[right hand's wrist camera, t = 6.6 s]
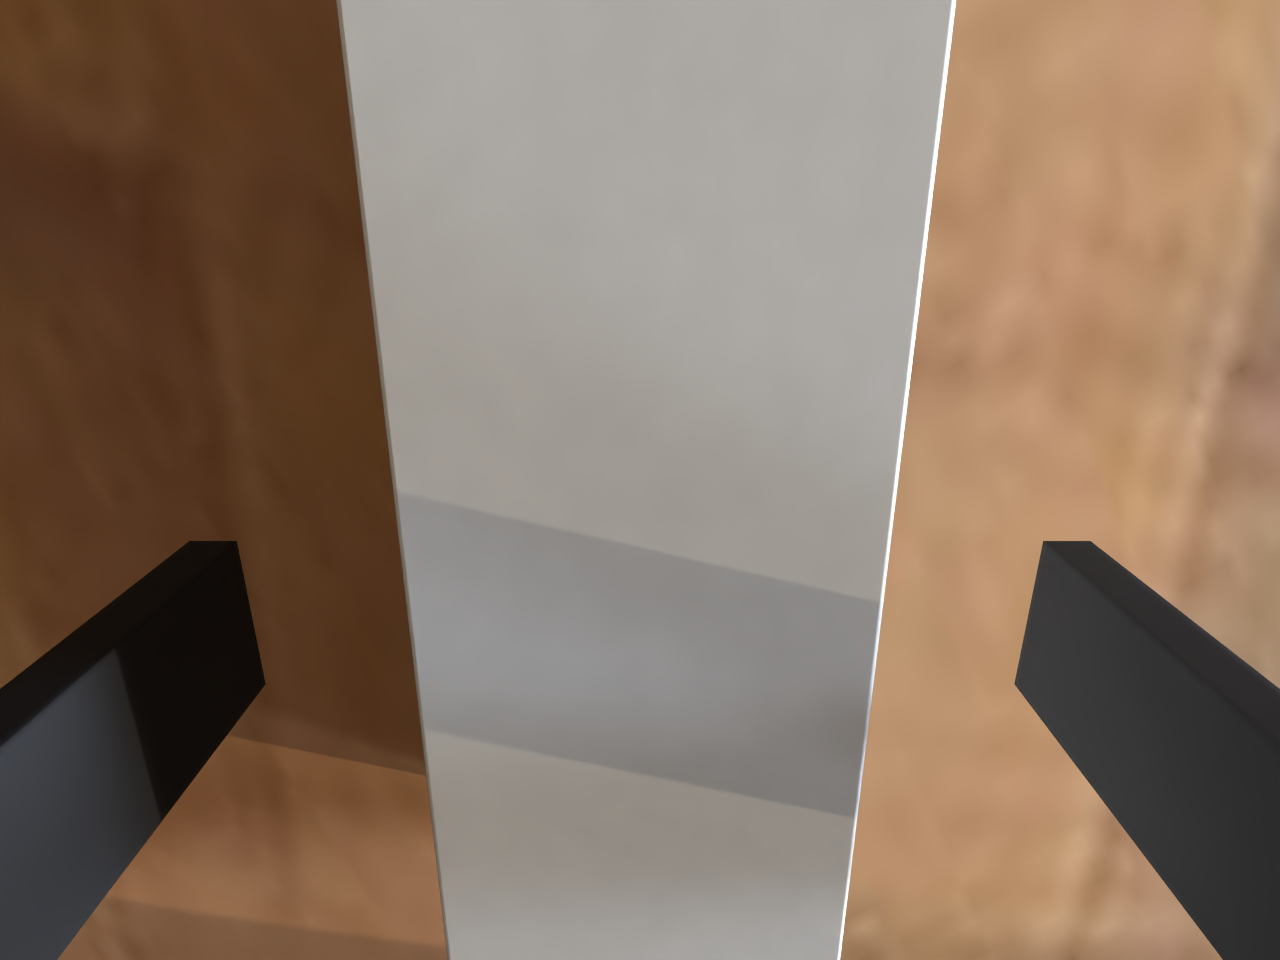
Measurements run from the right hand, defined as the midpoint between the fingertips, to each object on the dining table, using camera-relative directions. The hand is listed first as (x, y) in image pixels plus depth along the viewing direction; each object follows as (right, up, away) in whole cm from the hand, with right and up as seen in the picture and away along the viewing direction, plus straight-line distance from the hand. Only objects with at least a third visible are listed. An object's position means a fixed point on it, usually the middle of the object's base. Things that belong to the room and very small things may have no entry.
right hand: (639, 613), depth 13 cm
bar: (0, +33, -8) cm, 34 cm away
